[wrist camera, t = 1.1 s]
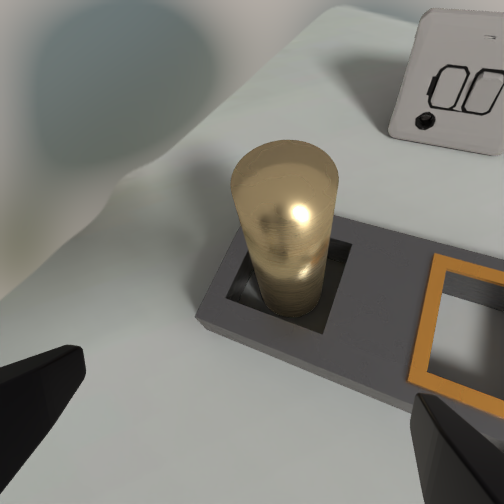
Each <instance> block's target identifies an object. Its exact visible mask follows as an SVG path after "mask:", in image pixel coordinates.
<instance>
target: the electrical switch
mask: <svg viewBox="0 0 504 504" xmlns="http://www.w3.org/2000/svg"><path fill="white" fill-rule="evenodd" d="M425 114H428V115H431V117H428V116H422V115H425ZM388 132H389V135H390V136H391V137H393V138H397V139H402V140H408V141H414V142H419V143H425V144H431V145H436V146H442V147H448V148H453V149H459V150H464V151H470V152H476V153H481V154H487V155H493V156H498V155H500V154H502V153H504V12H489V11H474V10H473V11H472V10H459V9H444V8H431V9H429V10H428V11H427V12H425V13H424V14H423V16H422V17H421V19H420V21H419V25H418V29H417V32H416V35H415V41H414V44H413V48H412V51H411V54H410V58H409V61H408V64H407V68H406V71H405V75H404V78H403V81H402V85H401V88H400V91H399V95H398V98H397V101H396V105H395V108H394V111H393V113H392V116H391V119H390V123H389V127H388Z"/></svg>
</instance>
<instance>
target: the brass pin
mask: <svg viewBox="0 0 504 504" xmlns="http://www.w3.org/2000/svg"><path fill="white" fill-rule="evenodd" d="M338 182H339V176H338V171H337V168H336V165H335V164H334V162H333V160H332V159H331V158H330V156H329V155H328V154H327V153H325V152H324V151H323V150H321V149H320V148H318V147H316V146H314V145H312V144H310V143H306V142H303V141H297V140H279V141H273V142H269V143H266V144H263V145H261V146H259V147H257V148H255V149H253V150H252V151H250V152H249V153H247V154H246V155H245V156H244V157H243V158H242V159H241V160H240V161H239V163H238V164H237V165H236V167H235V169H234V171H233V174H232V177H231V192H232V196H233V199H234V203H235V206H236V209H237V213H238V216H239V220H240V223H241V226H242V230H243V233H244V237H245V240H246V244H247V247H248V250H249V254H250V257H251V261H252V264H253V267H254V271H255V274H256V278H257V281H258V285H259V288H260V291H261V295H262V298H263V300H264V302H265V304H266V305H267V307H268V308H269V309H270V310H271V311H273V312H274V313H276V314H278V315H280V316H284V317H299V316H303V315H305V314H307V313H309V312H310V311H311V310H313V309H314V308H315V306H316V305H317V304H318V302H319V300H320V297H321V293H322V286H323V280H324V273H325V267H326V260H327V254H328V247H329V241H330V234H331V228H332V221H333V215H334V208H335V202H336V195H337V189H338Z"/></svg>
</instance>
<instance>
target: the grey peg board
mask: <svg viewBox="0 0 504 504" xmlns="http://www.w3.org/2000/svg"><path fill="white" fill-rule="evenodd" d="M327 258H329V259H333V260H336V261H339V262H342V263H346V265H345V268H344V271H343V275H342V278H341V281H340V284H339V287H338V290H337V293H336V296H335V299H334V302H333V305H332V308H331V311H330V314H329V317H328V320H327V323H326V326H325V329H324V332H323V335H322V334H320V333H317V332H314V331H312V330H309V329H306V328H304V327H301V326H298V325H296V324H293V323H290V322H287V321H285V320H282V319H279V318H277V317H274V316H271V315H269V314H266V313H263V312H261V311H258V310H255V309H253V308H250V307H247V306H245V305H242V304H239V303H238V302H239V299H240V297H241V295H242V293H243V291H244V288H245V286H246V284H247V282H248V280H249V277H250V275H251V273H252V271H253V269H254V267H253V264H252V261H251V257H250V254H249V250H248V247H247V244H246V240H245V237H244V233H243V230H242V226H240V228H239V230H238V231H237V233H236V235H235V237H234V239H233V241H232V243H231V245H230V247H229V249H228V251H227V253H226V255H225V257H224V259H223V261H222V263H221V265H220V267H219V269H218V271H217V273H216V275H215V277H214V279H213V281H212V283H211V285H210V287H209V289H208V291H207V293H206V295H205V297H204V299H203V301H202V303H201V305H200V307H199V309H198V311H197V313H196V315H195V318H196V319H197V320H198V321H199V322H200V323H201V324H202V325H203V326H204V327H205V328H206V329H207V330H209V331H212V332H214V333H217V334H219V335H222V336H224V337H226V338H229V339H231V340H234V341H236V342H239V343H241V344H243V345H246V346H248V347H251V348H253V349H256V350H258V351H260V352H263V353H265V354H268V355H270V356H273V357H275V358H277V359H280V360H282V361H285V362H287V363H290V364H292V365H294V366H297V367H299V368H302V369H304V370H307V371H309V372H311V373H314V374H316V375H319V376H321V377H323V378H326V379H328V380H331V381H333V382H336V383H338V384H340V385H343V386H345V387H348V388H350V389H353V390H355V391H357V392H360V393H362V394H365V395H367V396H370V397H372V398H374V399H377V400H379V401H382V402H384V403H387V404H389V405H391V406H394V407H396V408H399V409H401V410H404V411H406V412H408V413H411V414H412V409H413V403H414V398H415V395H416V394H417V393H426V394H433V395H436V396H437V397H439V398H440V399H441V400H442V401H443V402H445V403H446V404H447V405H448V406H449V407H450V408H452V409H453V410H454V411H455V412H456V413H457V414H459V415H460V416H461V417H462V418H463V419H465V420H466V421H467V422H468V423H469V424H470V425H472V426H473V427H474V428H475V429H476V430H477V431H479V432H480V433H481V434H482V435H483V436H485V437H486V438H487V439H488V440H489V441H490V442H492V443H493V444H494V445H495V446H496V447H497V448H499V449H500V450H501V451H503V452H504V401H503V400H501V399H498V398H495V397H493V396H490V395H487V394H485V393H482V392H479V391H477V390H474V389H471V388H468V387H466V386H463V385H460V384H458V383H455V382H452V381H450V380H447V379H444V378H442V377H439V376H436V375H434V374H431V373H428V372H427V369H428V364H429V358H430V353H431V348H432V343H433V337H434V332H435V327H436V321H437V316H438V311H439V305H440V300H441V295H442V293H445V294H448V295H451V296H455V297H458V298H461V299H465V300H468V301H471V302H475V303H478V304H481V305H484V306H488V307H491V308H494V309H498V310H501V311H504V260H502V259H498V258H494V257H491V256H487V255H483V254H479V253H475V252H472V251H468V250H464V249H460V248H456V247H453V246H449V245H445V244H441V243H437V242H434V241H430V240H426V239H422V238H418V237H415V236H411V235H407V234H403V233H399V232H396V231H392V230H388V229H384V228H380V227H377V226H373V225H369V224H365V223H361V222H358V221H354V220H350V219H346V218H342V217H339V216H335V215H333V221H332V228H331V234H330V241H329V247H328V254H327Z"/></svg>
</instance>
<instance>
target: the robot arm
mask: <svg viewBox="0 0 504 504" xmlns="http://www.w3.org/2000/svg"><path fill="white" fill-rule="evenodd" d="M85 375H86V366H85V360H84V354H83V349H82V348H81V347H80V346H75V345H64V346H61V347H58V348H55V349H52V350H49V351H47V352H44V353H41V354H38V355H35V356H32V357H29V358H26V359H23V360H21V361H18V362H15V363H12V364H9V365H6V366H3V367H0V494H1V493H2V491H3V490H4V489H5V488H6V486H7V485H8V484H9V482H10V481H11V480H12V479H13V477H14V476H15V475H16V473H17V472H18V471H19V470H20V468H21V467H22V466H23V465H24V463H25V462H26V461H27V459H28V458H29V457H30V456H31V454H32V453H33V452H34V450H35V449H36V448H37V447H38V445H39V444H40V443H41V442H42V440H43V439H44V438H45V436H46V435H47V434H48V432H49V431H50V430H51V428H52V427H53V425H54V424H55V423H56V421H57V420H58V418H59V417H60V415H61V414H62V412H63V410H64V409H65V407H66V406H67V404H68V403H69V401H70V400H71V398H72V397H73V395H74V394H75V392H76V391H77V389H78V388H79V386H80V384H81V383H82V381H83V380H84V378H85ZM410 430H411V436H412V441H413V446H414V452H415V457H416V462H417V467H418V473H419V478H420V483H421V489H422V493H423V498H424V502H425V504H504V453H503V452H502V451H501V450H500V449H499V448H497V447H496V446H495V445H494V444H493V443H492V442H490V441H489V440H488V439H487V438H486V437H485V436H483V435H482V434H481V433H480V432H479V431H477V430H476V429H475V428H474V427H473V426H472V425H470V424H469V423H468V422H467V421H466V420H465V419H463V418H462V417H461V416H460V415H459V414H457V413H456V412H455V411H454V410H453V409H452V408H450V407H449V406H448V405H447V404H446V403H445V402H443V401H442V400H441V399H440V398H439V397H437V396H436V395H433V394H426V393H417V394H416V395H415V398H414V403H413V409H412V414H411V419H410Z"/></svg>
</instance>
